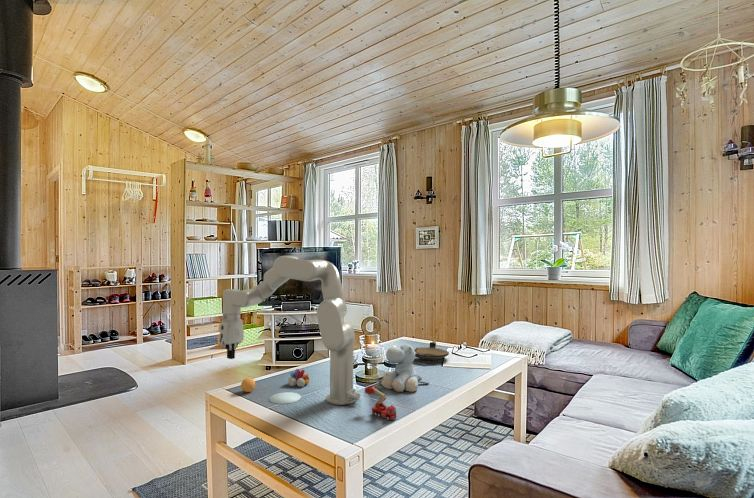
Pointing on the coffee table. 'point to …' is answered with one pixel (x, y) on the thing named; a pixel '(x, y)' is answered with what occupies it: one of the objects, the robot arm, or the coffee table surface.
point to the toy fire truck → (381, 405)
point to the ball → (248, 385)
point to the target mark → (285, 398)
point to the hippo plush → (401, 370)
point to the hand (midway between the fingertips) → (230, 358)
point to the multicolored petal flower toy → (298, 378)
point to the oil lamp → (430, 352)
